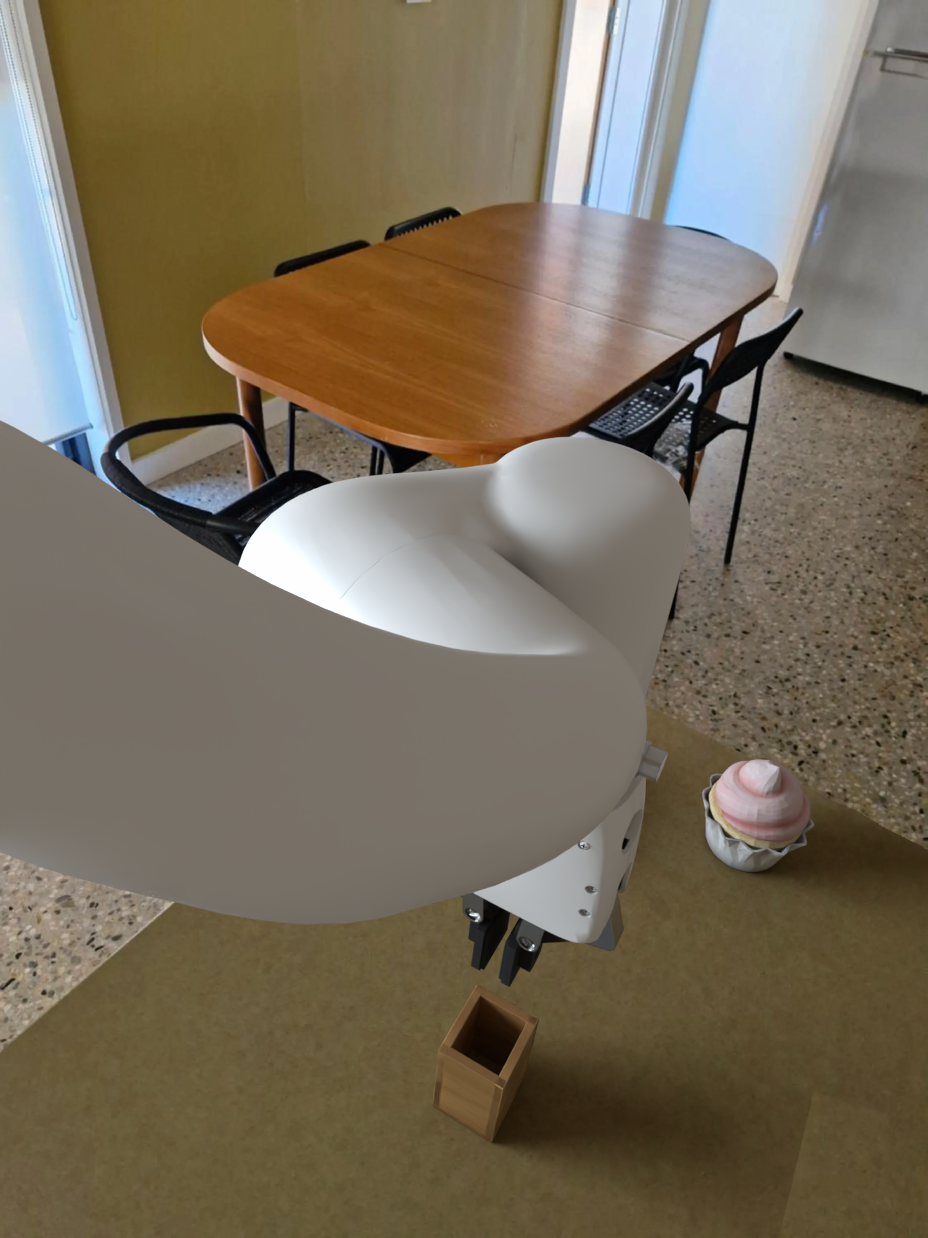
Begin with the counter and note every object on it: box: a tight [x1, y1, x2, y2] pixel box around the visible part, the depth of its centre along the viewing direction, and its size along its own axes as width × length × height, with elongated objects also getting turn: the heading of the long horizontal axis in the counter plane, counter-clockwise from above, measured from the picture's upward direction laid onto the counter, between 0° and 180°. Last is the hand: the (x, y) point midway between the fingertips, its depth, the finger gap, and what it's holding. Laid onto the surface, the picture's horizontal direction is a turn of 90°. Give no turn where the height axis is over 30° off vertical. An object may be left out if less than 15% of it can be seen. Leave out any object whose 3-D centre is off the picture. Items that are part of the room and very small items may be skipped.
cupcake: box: [701, 758, 815, 873], centre depth 74 cm, size 9×9×10 cm
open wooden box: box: [432, 984, 540, 1144], centre depth 57 cm, size 5×4×8 cm
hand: (502, 955), depth 49 cm, fingers closed
